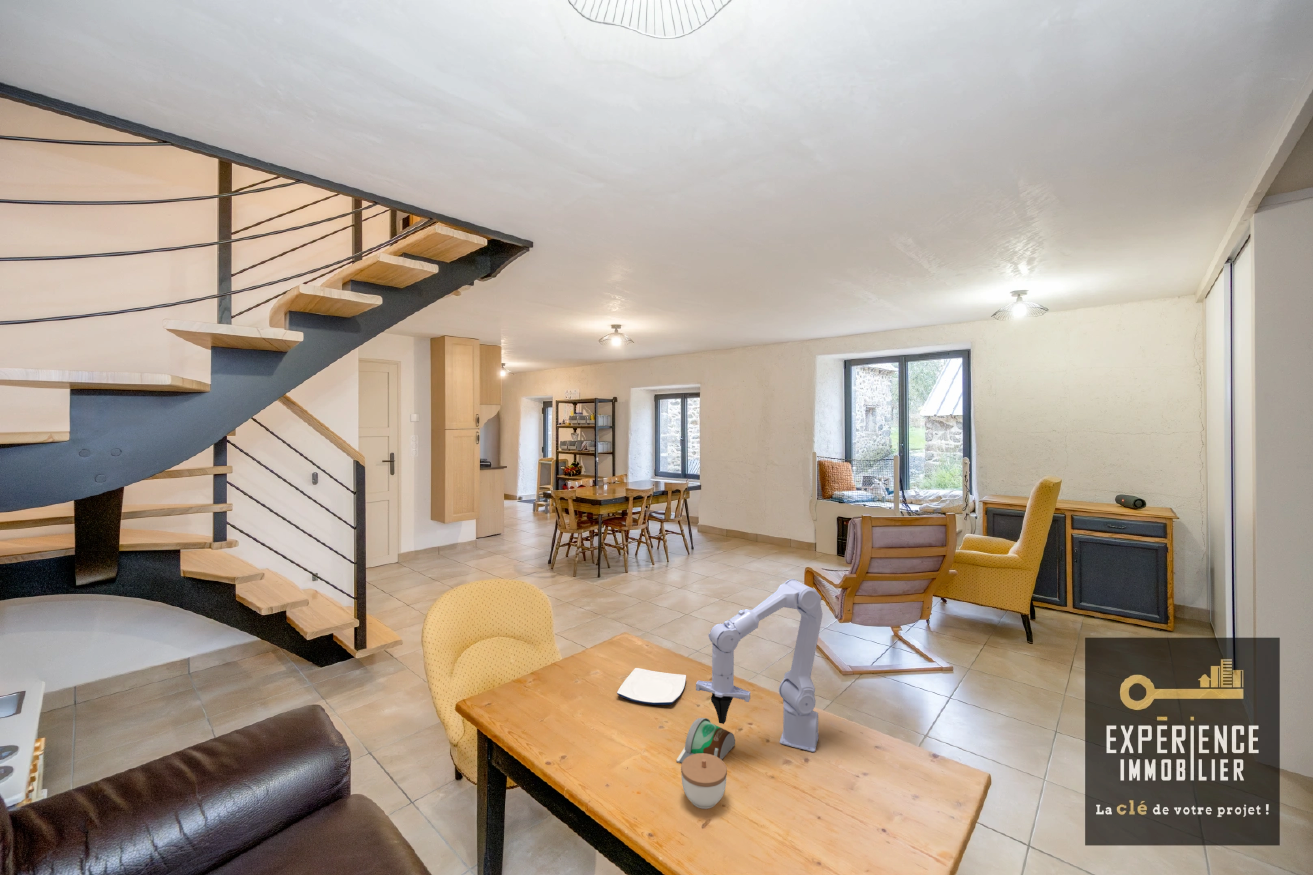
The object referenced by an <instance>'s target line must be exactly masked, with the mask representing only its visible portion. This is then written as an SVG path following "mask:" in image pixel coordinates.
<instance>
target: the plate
mask: <svg viewBox="0 0 1313 875" xmlns="http://www.w3.org/2000/svg"><path fill="white" fill-rule="evenodd" d="M686 680H687V675H686V674H679V673H670V672H661V671H654V670H649V669H645V668H640V667H635V668H634V669H633V670H632V671H631V673H630V674H629V675H628V676H627V677H626V678H625V679H624V681H623V682H622V683H621V685H620V687H619V688H618V690H617V692H616V695H618V696H619V697H621V698H624V699H626V700H629V701H631V702H635V703H640V704H645V705H646V704H648V705H653V706H654V705H655V706H660V705H661V706H667V705H668V706H669V705H673V703H674V702H676V701H677V700H678V699H679V698H680V697H681V695H682V693H683V692H684V689H685V687H686V686H685V685H686Z"/></svg>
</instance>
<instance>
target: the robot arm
mask: <svg viewBox="0 0 1313 875" xmlns="http://www.w3.org/2000/svg"><path fill="white" fill-rule="evenodd" d="M821 603H822V596H821V595H820V594H819V592H818V591H817V590H816V589H815V588H813V587H810V586H808V585H807V584H804V583H803V582H800V581H799V580H798V579H795V578H790V579H788V580H785V581H784V583H781V584H780V585H778V588H777V590H776V591H775V592H773V593H772V594H771V595H769V596H768V597H767V598H765V599H764V600H763V601H761V602H760V603H759V604H758V605H756V606H755V607H754V608H751V609H747V608H745V609H740V610H738V611H737V612H738V613H737V614H735V615H733V617H730V618H729V619H727V620H725V621H724V622H723V623H717V624H715V625H714V626H712V628H711V630H710V632H709V633H708V634H707V635H708V639H709V641H710V642H711V643H712V649H711V652H712V653H711V654H712V656H711V665H712V666H711V681H710V680H708V681H706V680H704V681H703V680H697V681H696V683H695V691H697V692H701V691H702V692H708V693H711V697H710V702H711V703H712V704H713V707H714V709H715V712H716V715H717V718H718V719H717V720H718V723H719V724H722V725H724V724H725V723H726V722H727V716H728V712H729V708H730V706H731V704H732V701H733V699H738V700H742V701H743V700H744V702H745V703H749V702H750V700H751V691H749V690H746V689H743V688H741V687H739V686H736V685H734V684H735V682H734V680H735V679H734V676H735V675H734V673H735V672H734V671H735V670H734V669H735V668H734V666H735V665H734V663H735V662H734V661H735V660H734V659H735V653H734V652H735V650H736V649H737V647H738V644H739V642H741V640H742V639H744V638H745V637H747V636H748V635H749V634H751V633H752V632H754V631H755V630H757V629H758V627H759V623H760V621H762V620H764V619H765V618H767V617H769V616H771V615H773V614H774V613H776V612H777V611H779V610H781V609H783V608H787V609H792V610H797V611H798V613H799V614H800V620H799V626H798V631H797V636H796V641H795V647H794V652H793V656H792V661H791V667H790V669H789V670H787V672H785V673H784V676H783V679H782V681H781V682H780V684H779V686H778V692H779V696H780V698H782V703H783V707H782V708H783V718H782V719H783V720H782V721H783V722H782V724H783V725H782V733H781V736H780V740H779V744H781V745H784V746H788V747H792V748H796V749H800V750H805V751H807V752H812V753H815V752H816V749H817V744H818V741H819V738H820V737H819V713H818V712H817V711H815V710H814V709H815V707H816V703H817V702H816V697H815V694H816V693H815V692H816V688H815V684H814V682H813V680H812V678H811V677H812V672H813V667H814V666H813V665H814V663H815V662H814V661H815V655H816V651H817V646H818V645H817V644H818V640H819V636H820V629H821V625H822V619H823V609H822V604H821Z"/></svg>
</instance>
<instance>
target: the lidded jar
mask: <svg viewBox="0 0 1313 875" xmlns="http://www.w3.org/2000/svg"><path fill="white" fill-rule="evenodd" d="M680 764H681V765H680V772H681V784H682V789H683V791H684V794H685V796H686V798H687V799H688V801H689V802H691V804H692V805H693V806H694V807H695V808H698V809H702V810H709V809H712V808H713V807H715V806H716V804H718V803H719V802H720V800H722V798H723V797H724V794H725V792H726V791H725V790H726V786H727V775H728V767H727V765H726V763H725V762H724V760H723V759H722V760H721V759H720V758H718V757H716V756H714V755H711V754H706V753H698V754H693V755H690V756H688V757H687V758H685V759H684V761H683V762H682V763H680Z"/></svg>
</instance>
